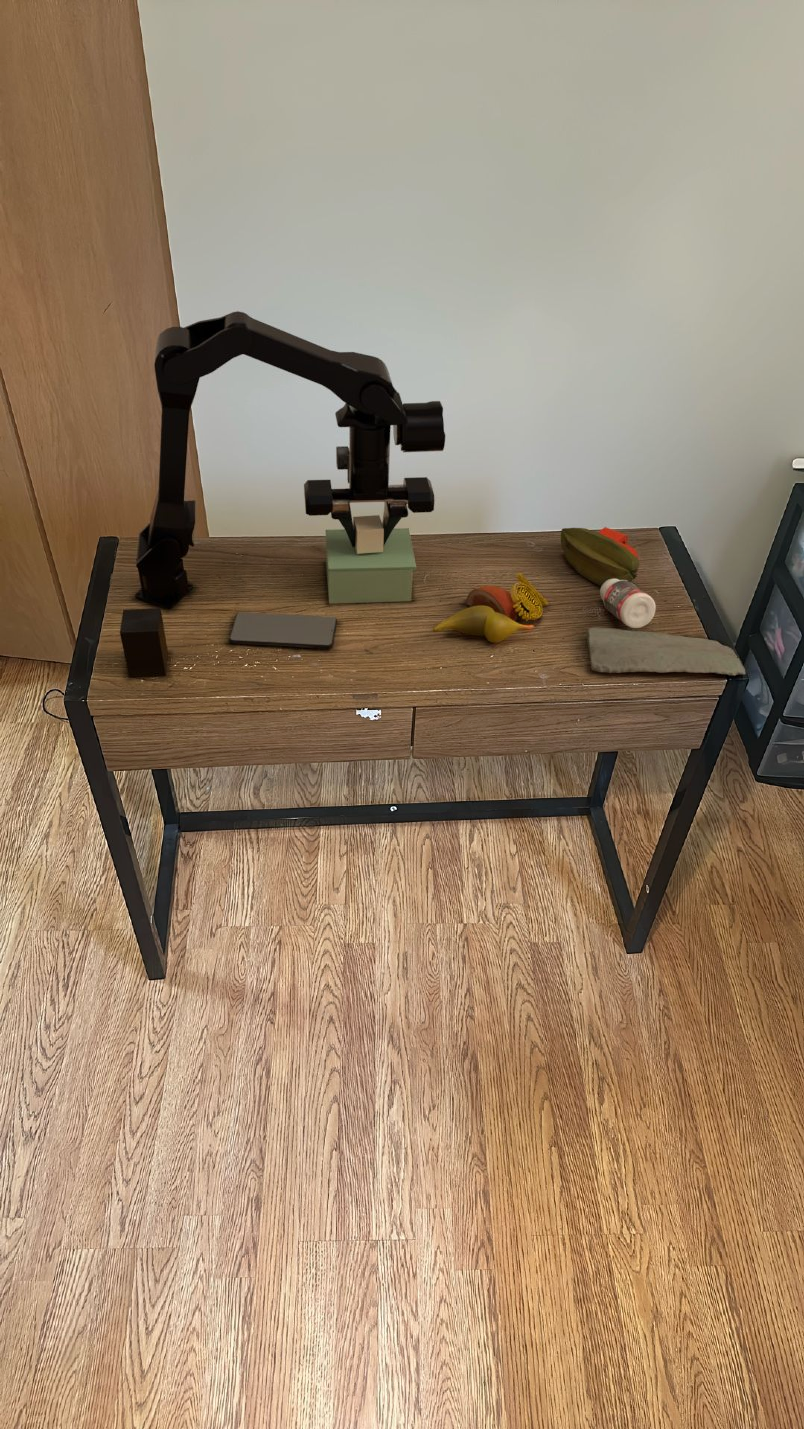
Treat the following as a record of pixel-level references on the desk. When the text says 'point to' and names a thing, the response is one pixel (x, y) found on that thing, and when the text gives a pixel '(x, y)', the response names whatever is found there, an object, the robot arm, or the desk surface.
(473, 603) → the fruit slice
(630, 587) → the pill bottle
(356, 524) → the block
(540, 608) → the logo
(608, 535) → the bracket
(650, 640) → the stone slab
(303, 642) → the smartphone
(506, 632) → the yellow tapered piece
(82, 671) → the desk surface
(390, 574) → the case
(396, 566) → the cover
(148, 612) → the stand
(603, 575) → the fruit
